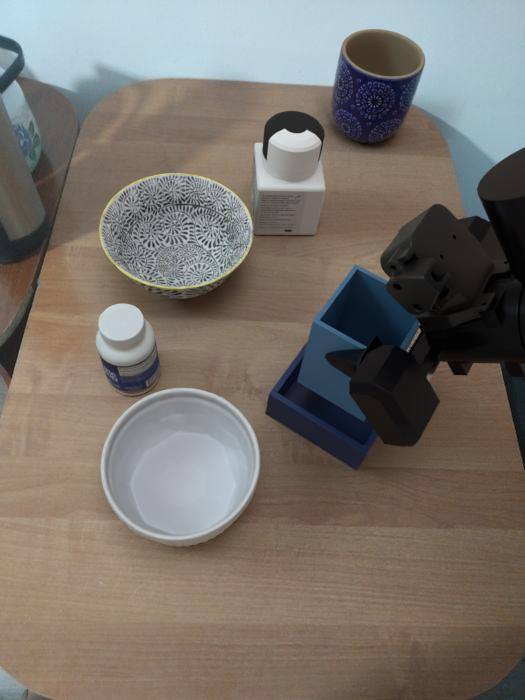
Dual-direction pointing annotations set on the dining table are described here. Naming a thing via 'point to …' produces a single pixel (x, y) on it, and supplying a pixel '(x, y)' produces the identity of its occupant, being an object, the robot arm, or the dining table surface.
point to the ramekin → (180, 466)
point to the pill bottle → (127, 349)
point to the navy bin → (319, 418)
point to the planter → (375, 84)
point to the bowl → (176, 233)
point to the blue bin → (352, 333)
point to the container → (288, 176)
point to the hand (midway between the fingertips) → (349, 328)
